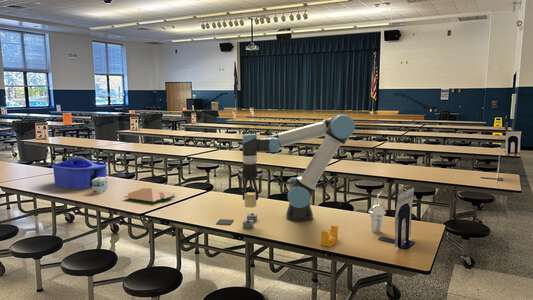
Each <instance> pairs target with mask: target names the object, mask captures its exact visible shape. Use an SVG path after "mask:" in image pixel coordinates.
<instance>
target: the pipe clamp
mask: <svg viewBox="0 0 533 300" xmlns="http://www.w3.org/2000/svg"><path fill="white" fill-rule="evenodd" d="M338 228H339V225H337V224H332V225H330V231H328V230H321V231H320V233H321V235H320V245H321V246H325V247H329V248H331V247H332V246H334V245H335V244H336V243H337V239H338V231H339V229H338Z"/></svg>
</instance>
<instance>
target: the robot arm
mask: <svg viewBox="0 0 533 300" xmlns="http://www.w3.org/2000/svg"><path fill="white" fill-rule="evenodd" d="M355 128H356V126H355V121H354V119H353V118H352V117H351V116H350V115H348V114H345V113H344V114H343V113H339V114H335V115H333V116H331V117H328V118H325V119H323V120H322V121H321V122H315V123H314V124H309V125H305V126H302V127H297V128H295V129H290V130H286V131H283V132H282V131H281V132H279V133H274V134H269V135H267V136H266V137H258V135H257V134H256V133H245V134H243V135H242V142H241V143H242V146H241V147H242V173H238V175H237V178H238V193H239V194H242V200H243V201H244V207H246V193H247V192H246V191H247V187H248V181H251V182H252V185H253V189H254V193H255V194H254V207H253V208H255V207H257V201H258V200H259V194H261V193H262V190H263V189H262V188H263V187H262V185H263V184H262V178H263V176H264V174H262V173H258V163H257V162H258V153H278V152H279V151H280V147H285V146H289V145H292V144H297V143H300V142H304V141H308V140H312V139H313V140H314V139H316V138H321V137H324V138H323V140H322V142H321V144H320V145H319V147H318V148H317V150H316V152H315V154H314V155H313V157H312V158H311V160H310V161H309V163H308V165H307V167H306V168H305V170H304V171H303V173H302V175H301V176H296V177H290V178H289V182H288V183H289V189H288V193H287V201H288V202H289V205H288V207H287V210H286V214H285V216H286V219H287V220H290V221H293V222H308V221H311V220H313V218H314V214H313V210H312V206H311V198H312V197H313V195H314V193H315V192H316V190H317V186H316V185H317V183H318V182H319V180H320V178H321V177H322V175H323V174H324V172H325V170H326V169H327V167H328V166H329V164H330V162H331V161H332V159H333V157H334V156H335V155H336V153H337V151H338V149H339V148H340V147H341V146H344V145H346V143H347V141H348V139H349V137H351V136H352V135H353V134H354V131H355ZM243 178H244V179H245V180H244V184H243ZM256 178H257V179H258V186H257V181H256Z"/></svg>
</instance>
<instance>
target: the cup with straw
mask: <svg viewBox="0 0 533 300" xmlns="http://www.w3.org/2000/svg"><path fill="white" fill-rule="evenodd" d="M382 193H383V190H381V191H380V192H379V193H378V194H377V196H376V204H373V205H372V206H371V207H370V208H369V209H368V214H369V217H370V224H371V225H370V227H371V232H372V233H375V234H377V233H381V232H382V227H383V221H384V217H385V215H386V214H387V212H386V210H385V209H384V207H383V206H382V205H381V204H379V197H380V195H381V194H382Z"/></svg>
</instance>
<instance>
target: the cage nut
mask: <svg viewBox="0 0 533 300" xmlns="http://www.w3.org/2000/svg"><path fill="white" fill-rule="evenodd" d="M245 193H246V206H245V208H255V207H254V194H255V192H249V191H248V192H245Z"/></svg>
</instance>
